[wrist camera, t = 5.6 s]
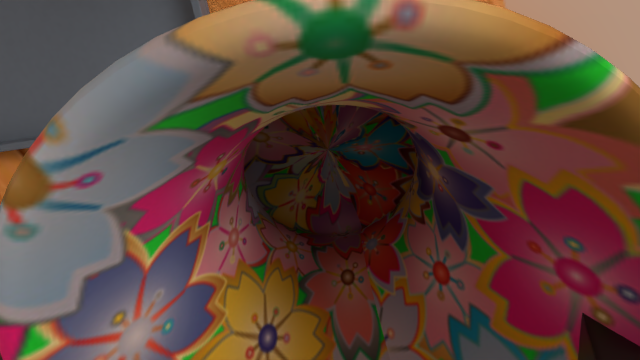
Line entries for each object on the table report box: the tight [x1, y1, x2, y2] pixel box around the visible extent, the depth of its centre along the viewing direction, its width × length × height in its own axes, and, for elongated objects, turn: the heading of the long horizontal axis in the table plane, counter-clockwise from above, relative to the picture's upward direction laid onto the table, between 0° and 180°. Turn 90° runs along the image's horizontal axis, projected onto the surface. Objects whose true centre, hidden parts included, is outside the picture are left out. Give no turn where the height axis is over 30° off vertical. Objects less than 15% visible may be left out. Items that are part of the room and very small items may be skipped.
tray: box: [0, 0, 210, 152], centre depth 26 cm, size 27×17×2 cm, turn 98°
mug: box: [0, 0, 640, 360], centre depth 10 cm, size 12×9×11 cm
